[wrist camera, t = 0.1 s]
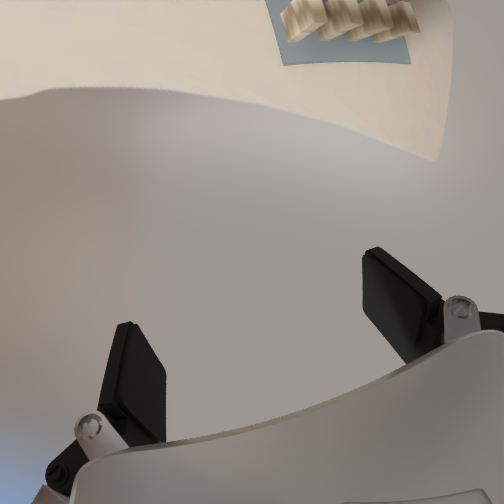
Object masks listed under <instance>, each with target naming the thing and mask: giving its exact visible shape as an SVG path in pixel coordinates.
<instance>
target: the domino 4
mask: <svg viewBox="0 0 504 504" xmlns="http://www.w3.org/2000/svg"><path fill="white" fill-rule="evenodd" d="M388 8H389V11H390V14H391V17H392V20H393V24H394V28H391V29H388V30H385V31H382V32H379V33H377V34H374V35H371V36H372V39H373V42H376V43H382V42H385V41H389V40H392V39H396V38H399V37H403V36H407V35H410V34H414V33H418V32H420V30H419V26H418V23H417V20H416V17H415V14H414V11H413V8H412V5H411V3H410V2H406V1H400V2H398V3H395V4H393V5H391V6H388Z"/></svg>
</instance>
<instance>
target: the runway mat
mask: <svg viewBox="0 0 504 504" xmlns="http://www.w3.org/2000/svg"><path fill="white" fill-rule="evenodd" d="M265 1H266V4H267V8H268V11H269V14H270V18H271V21H272V24H273V28H274V31H275V35H276V39H277V42H278V46H279V50H280V54H281V58H282V61H283V65H284V66H287V65H296V64H308V63H324V62H385V63H400V64H411V61H410V56H409V52H408V48H407V44H406V41H405V37H404V36H403V37H399V38H396V39H392V40H389V41H385V42H382V43H376V42H373V39H372V36H369V37H366V38H363V39H361V40H358V41H348V39H347V36H346V32H345V33H343V34H341V35H339V36H337V37H335V38H333V39H331V40H329V41H319V37H318V33H317V30H315V31H313V32H312V33H310V34H309V35H307V36H306V37H304V38H303V39H302V40H300V41H299V42H288V40H287V37H286V33H285V29H284V26H283V22H282V19H281V16H280V14H281V13H282V11H283V10H284V9H285V8H286V7H287V6H288V5H289V4H290V3H291V1H292V0H265ZM327 1H328V0H322V2H323V4H324V3H325V2H327ZM362 1H364V0H357V3H358V4H359V3H360V2H362ZM387 5H388V4H387ZM388 6H391V5H388Z"/></svg>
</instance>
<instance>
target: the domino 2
mask: <svg viewBox="0 0 504 504" xmlns="http://www.w3.org/2000/svg"><path fill="white" fill-rule="evenodd" d="M323 5H324V8H325V11H326V15H327V18H328V22H326V23H325V24H323V25H322V26H320V27H319V28H317V29H316V30H317V33H318V37H319V41H329V40H331V39H333V38H335V37H337V36H339V35H341V34H343V33H345V32H347V31H349V30H351V29H353V28H355V27H357V26H360V25H362V24H364V21H363V18H362V15H361V12H360V8H359V6H358V3H357V0H328V1H327V2H325V3H324V4H323Z"/></svg>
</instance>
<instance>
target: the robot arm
mask: <svg viewBox="0 0 504 504" xmlns="http://www.w3.org/2000/svg"><path fill="white" fill-rule="evenodd" d="M362 269H363V270H362V273H363V310H364V312H365V314H366V315H367V317H368V318H369V319H370V320H371V321H372V323H373V324H374V325H375V326H376V327H377V329H378V330H379V331H380V332H381V333H382V335H383V336H384V337H385V338H386V340H387V341H388V342H389V343H390V345H391V346H392V347H393V348H394V349H395V351H396V352H397V353H398V355H399V356H400V357H401V358H402V359H403V361H404V362H405V363H406V365H405V366H402V367H401V368H399V369H397V370H395V371H393V372H391V373H389V374H387V375H385V376H383V377H381V378H379V379H376V380H374V381H372V382H370V383H368V384H366V385H363V386H361V387H359V388H357V389H354V390H352V391H350V392H347V393H345V394H342V395H340V396H338V397H335V398H333V399H330V400H327V401H325V402H322V403H320V404H317V405H314V406H311V407H308V408H306V409H303V410H300V411H297V412H294V413H291V414H288V415H285V416H281V417H278V418H275V419H271V420H268V421H265V422H261V423H258V424H254V425H250V426H246V427H242V428H239V429H234V430H230V431H225V432H221V433H217V434H211V435H206V436H201V437H195V438H189V439H185V440H178V441H172V442H166V372H165V369H164V367H163V365H162V364H161V362H160V361H159V359H158V357H157V356H156V354H155V353H154V351H153V349H152V348H151V346H150V344H149V343H148V341H147V339H146V338H145V336H144V335H143V333H142V331H141V330H140V328H139V326H138V325H137V324H133V323H132V322H131V321H130V322H126V323H122V324H119V325H118V326H117V328H116V332H115V336H114V339H113V343H112V347H111V350H110V355H109V358H108V362H107V366H106V371H105V375H104V379H103V384H102V388H101V393H100V398H99V403H98V408H97V411H96V410H91V411H88V412H85V413H84V414H82V415H81V416H80V417H79V418H78V420H77V421H76V423H75V427H74V434H75V437H76V440H75V441H74V442H73V443H72V444H71V445H69V447H67V448H66V449H65V450H64V451H63V452H62V453H61V454H60V455H59V456H58V457H56V458H55V459H54V460H53V461H52V462H51V463H50V464H49V465H48V467H47V469H46V474H45V478H46V482H47V485H46V486H45V485H42V487H41V488H40V490H39V492H38V494H37V495H36V497H35V498H34V501H33V502H32V504H504V314H496V313H487V312H478V308H477V305H476V304H475V303H474V301H472V300H471V299H469V298H467V297H465V296H453V297H450V298H448V299H447V300H446V301H444V300H442V299H441V298H442V296H441V295H440V294H439V293H438V292H436V291H435V290H434V289H433V288H432V287H430V286H429V285H428V284H427V283H425V282H424V281H423V280H422V279H420V278H419V277H418V276H417V275H415V274H414V273H413V272H412V271H410V270H409V269H408V268H407V267H405V266H404V265H403V264H401V263H400V262H399V261H398V260H396V259H395V258H394V257H392V256H391V255H390V254H388V253H387V252H386V251H384V250H383V249H382V248H380V247H375V248H372V249H369V250H367V251H366V252H365V255H363V257H362Z"/></svg>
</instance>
